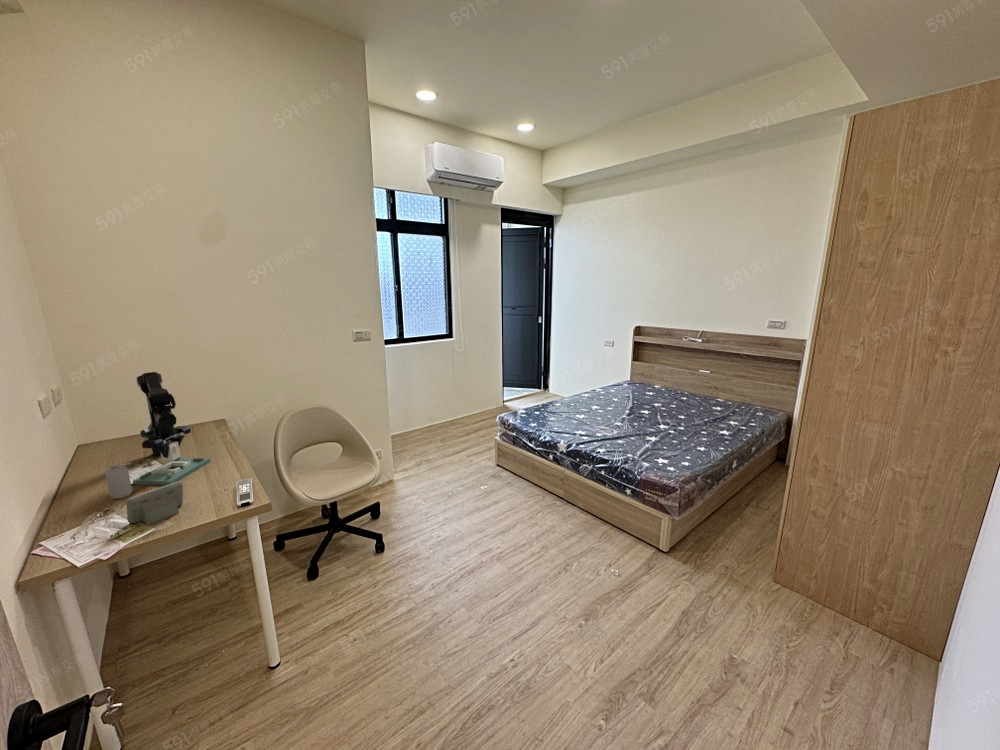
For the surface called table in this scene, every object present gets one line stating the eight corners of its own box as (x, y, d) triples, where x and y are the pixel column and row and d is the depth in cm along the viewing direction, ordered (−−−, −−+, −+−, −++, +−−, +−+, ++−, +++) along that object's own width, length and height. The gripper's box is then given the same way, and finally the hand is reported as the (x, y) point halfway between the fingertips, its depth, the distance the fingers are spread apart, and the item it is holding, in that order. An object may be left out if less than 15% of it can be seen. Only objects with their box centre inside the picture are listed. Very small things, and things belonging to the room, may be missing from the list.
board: (177, 461, 188) (175, 454, 187) (210, 461, 187) (209, 455, 186) (133, 484, 166) (131, 476, 166) (171, 485, 166) (169, 477, 165)
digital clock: (184, 502, 153) (179, 476, 151) (189, 511, 147) (184, 485, 145) (127, 520, 141) (120, 493, 139) (130, 531, 135) (124, 502, 133)
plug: (170, 456, 178) (167, 440, 176) (182, 456, 177) (179, 440, 176) (162, 460, 173) (158, 444, 172) (174, 461, 173) (171, 444, 171)
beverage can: (129, 490, 162) (123, 462, 159) (135, 494, 158) (129, 466, 156) (108, 497, 156) (101, 468, 154) (114, 501, 153) (107, 472, 150)
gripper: (164, 413, 181) (170, 446, 184) (125, 428, 163) (133, 464, 166) (188, 414, 180) (194, 446, 184) (152, 429, 162) (159, 465, 166)
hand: (170, 455), depth 175 cm, fingers closed on plug, 4 cm apart
